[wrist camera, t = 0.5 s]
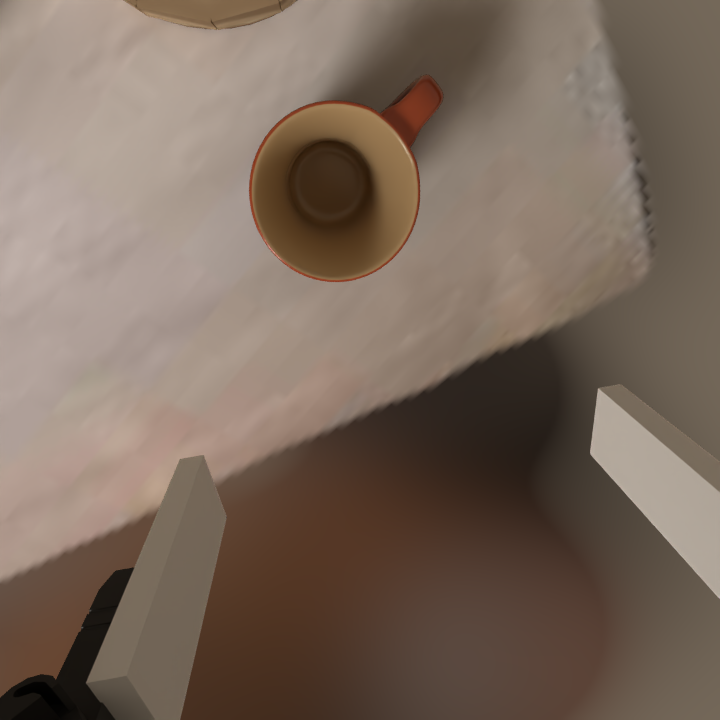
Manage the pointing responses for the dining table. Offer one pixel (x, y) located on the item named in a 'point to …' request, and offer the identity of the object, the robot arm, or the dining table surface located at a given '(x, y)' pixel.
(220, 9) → the round tray
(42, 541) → the dining table surface
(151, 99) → the dining table surface
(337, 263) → the mug
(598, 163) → the dining table surface
